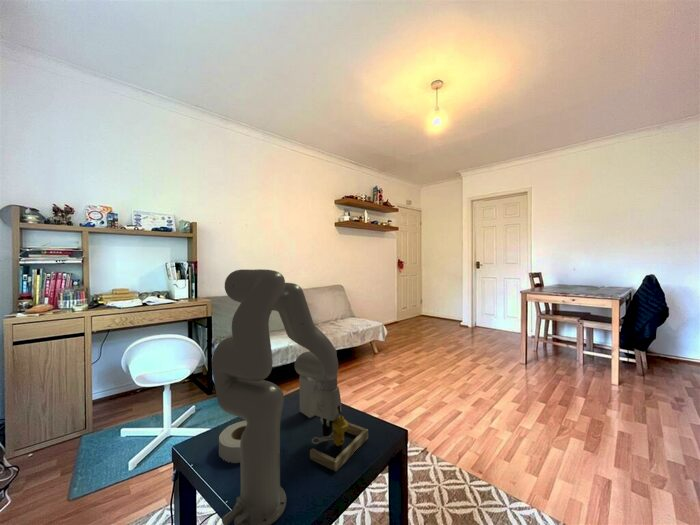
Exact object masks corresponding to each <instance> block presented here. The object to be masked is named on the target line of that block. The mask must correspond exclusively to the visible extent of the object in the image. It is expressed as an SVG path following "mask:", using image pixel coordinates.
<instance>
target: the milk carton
mask: <svg viewBox="0 0 700 525" xmlns="http://www.w3.org/2000/svg"><path fill="white" fill-rule="evenodd" d="M314 385H316V381H315V380H314V378H310V377H306V376H302V375H300V374H299V412H300V413H301V414H303V415H304V416H306V417H307V418H308V419H310V418H313V417H315V416H316V415H314V414H313V413H312V394H313V388H314Z"/></svg>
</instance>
